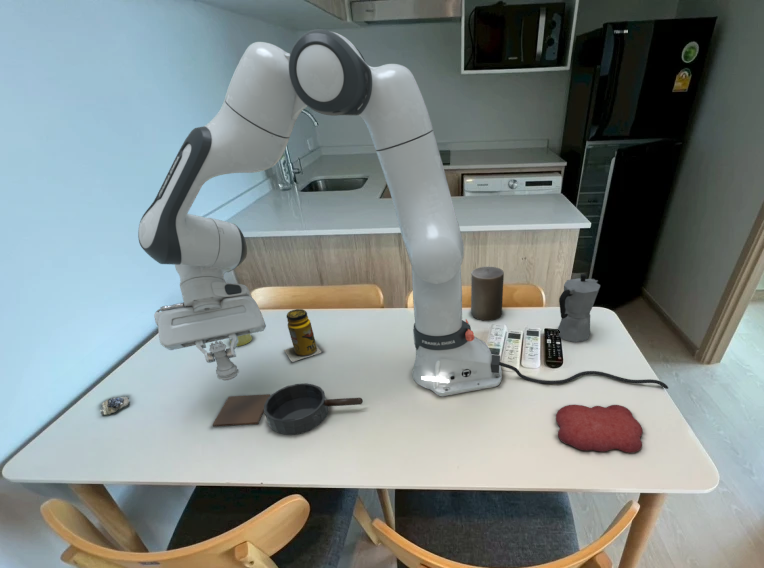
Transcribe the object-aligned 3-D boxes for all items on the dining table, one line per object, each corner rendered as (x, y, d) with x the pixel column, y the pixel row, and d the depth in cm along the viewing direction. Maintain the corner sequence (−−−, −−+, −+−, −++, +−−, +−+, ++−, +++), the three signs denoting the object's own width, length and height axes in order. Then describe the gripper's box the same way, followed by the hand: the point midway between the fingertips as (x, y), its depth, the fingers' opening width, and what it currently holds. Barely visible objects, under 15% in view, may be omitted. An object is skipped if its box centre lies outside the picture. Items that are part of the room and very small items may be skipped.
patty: (630, 408, 91) (632, 401, 90) (652, 454, 80) (655, 447, 79) (550, 406, 93) (551, 399, 92) (561, 452, 82) (562, 444, 81)
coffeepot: (573, 320, 124) (583, 263, 114) (601, 332, 118) (614, 272, 108) (540, 338, 117) (547, 278, 106) (567, 352, 111) (578, 289, 100)
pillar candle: (505, 319, 127) (508, 272, 118) (474, 322, 126) (475, 275, 117) (497, 305, 134) (499, 260, 126) (467, 308, 134) (468, 263, 125)
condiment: (322, 352, 115) (313, 314, 108) (292, 362, 111) (280, 323, 104) (313, 341, 120) (303, 304, 113) (284, 351, 116) (272, 313, 109)
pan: (332, 394, 99) (329, 381, 97) (322, 433, 89) (318, 419, 86) (277, 398, 99) (273, 384, 97) (261, 436, 88) (255, 423, 86)
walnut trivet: (270, 396, 100) (270, 394, 100) (258, 424, 92) (257, 422, 91) (229, 398, 100) (228, 396, 99) (213, 426, 92) (212, 424, 91)
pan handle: (363, 401, 93) (362, 395, 92) (363, 405, 92) (362, 400, 91) (324, 403, 93) (323, 398, 92) (323, 408, 92) (322, 402, 91)
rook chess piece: (231, 367, 92) (218, 336, 88) (244, 372, 90) (232, 341, 86) (213, 377, 89) (199, 346, 84) (226, 383, 87) (213, 351, 83)
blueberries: (107, 419, 95) (103, 413, 94) (90, 408, 98) (86, 402, 97) (137, 403, 100) (133, 397, 98) (120, 393, 103) (116, 387, 102)
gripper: (145, 302, 82) (160, 368, 81) (253, 283, 88) (269, 344, 87) (158, 313, 88) (172, 374, 87) (258, 294, 94) (273, 351, 93)
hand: (221, 359), depth 87 cm, fingers closed on rook chess piece, 3 cm apart
